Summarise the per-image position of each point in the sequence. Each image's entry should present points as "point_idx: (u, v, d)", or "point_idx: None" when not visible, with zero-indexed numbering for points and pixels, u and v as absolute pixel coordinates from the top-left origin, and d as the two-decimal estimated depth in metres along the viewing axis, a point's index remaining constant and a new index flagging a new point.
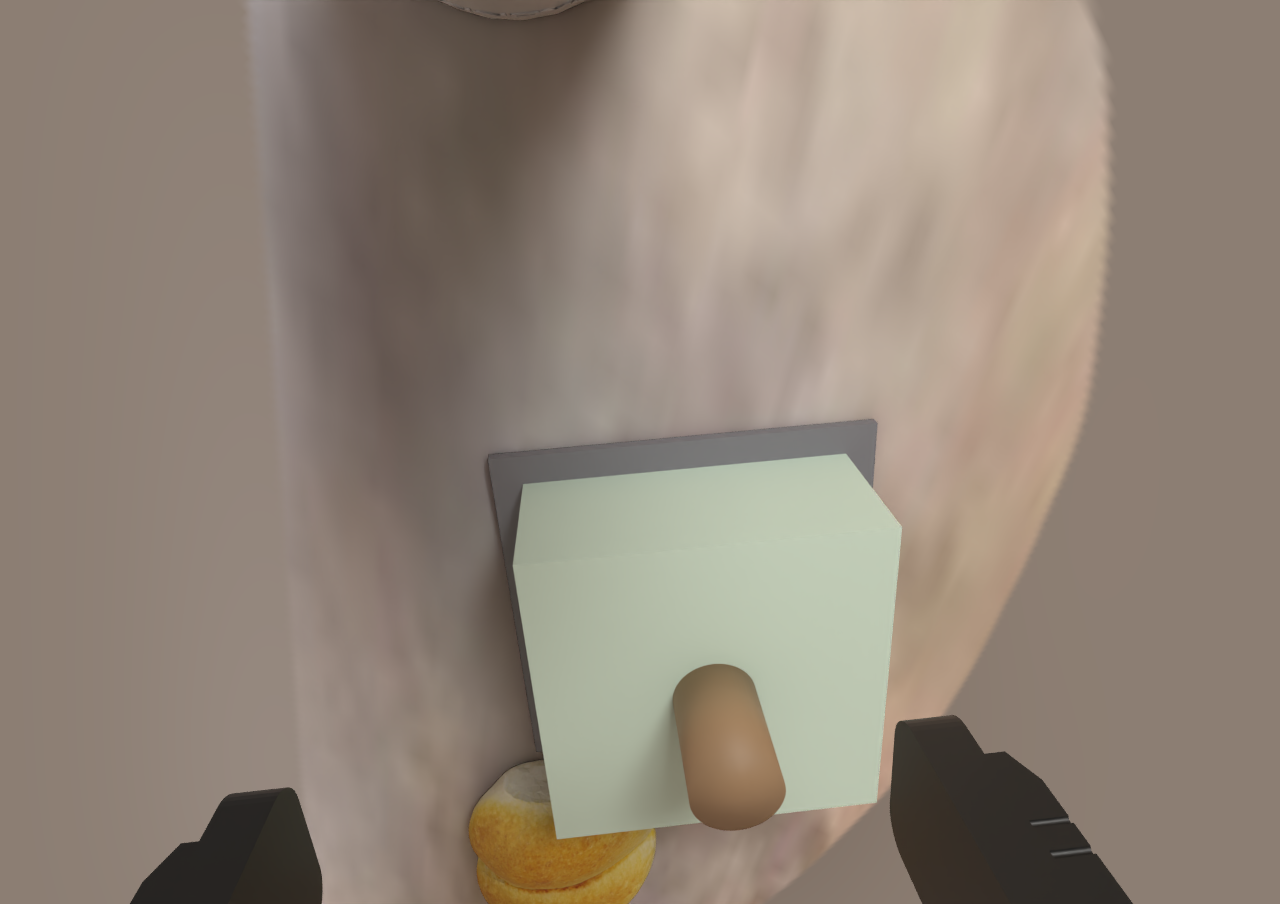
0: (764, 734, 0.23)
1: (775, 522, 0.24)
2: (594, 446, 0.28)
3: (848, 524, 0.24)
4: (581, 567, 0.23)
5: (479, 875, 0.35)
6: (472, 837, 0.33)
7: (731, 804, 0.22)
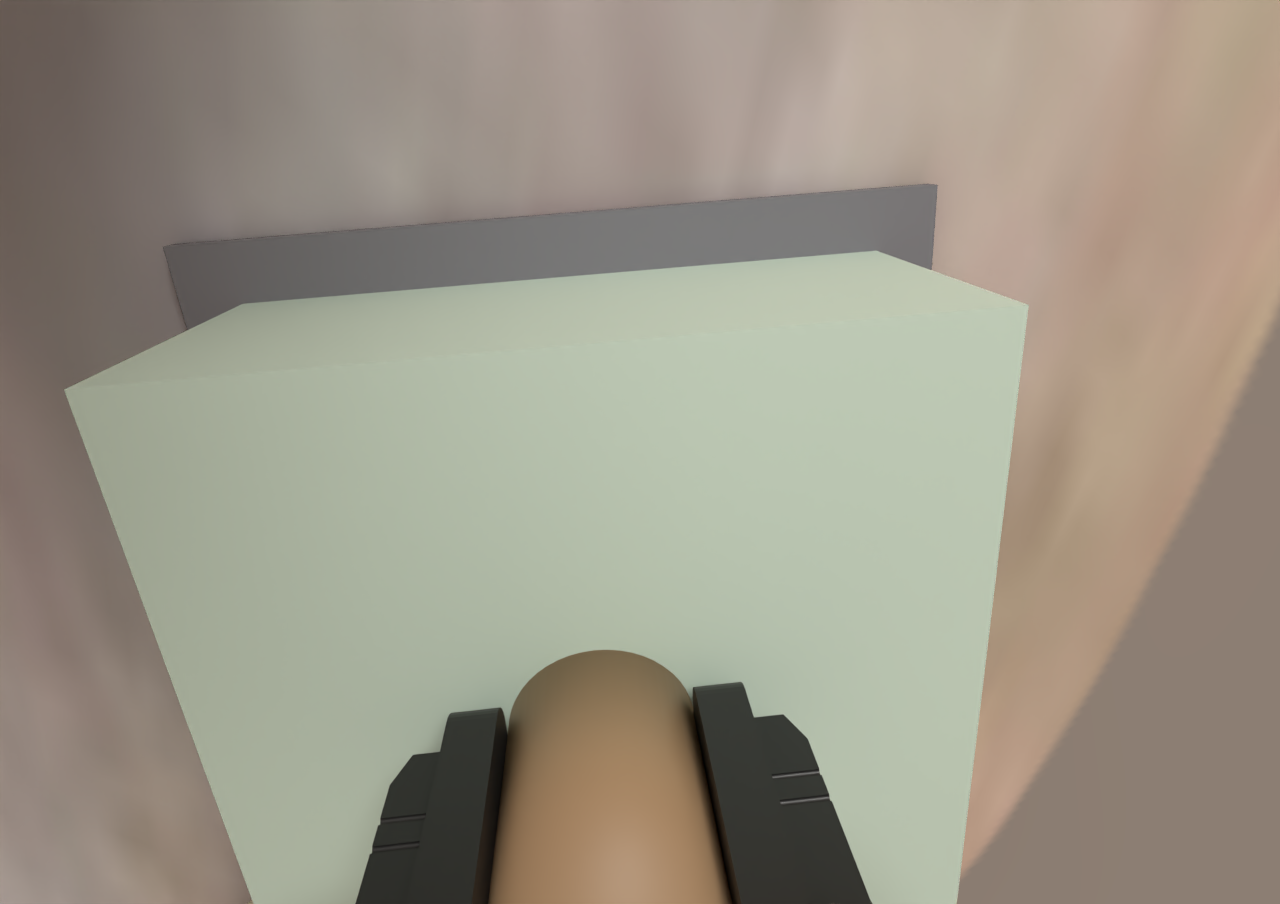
0: (694, 821, 0.09)
1: (726, 313, 0.10)
2: None
3: (898, 308, 0.10)
4: (242, 397, 0.09)
5: None
6: None
7: None
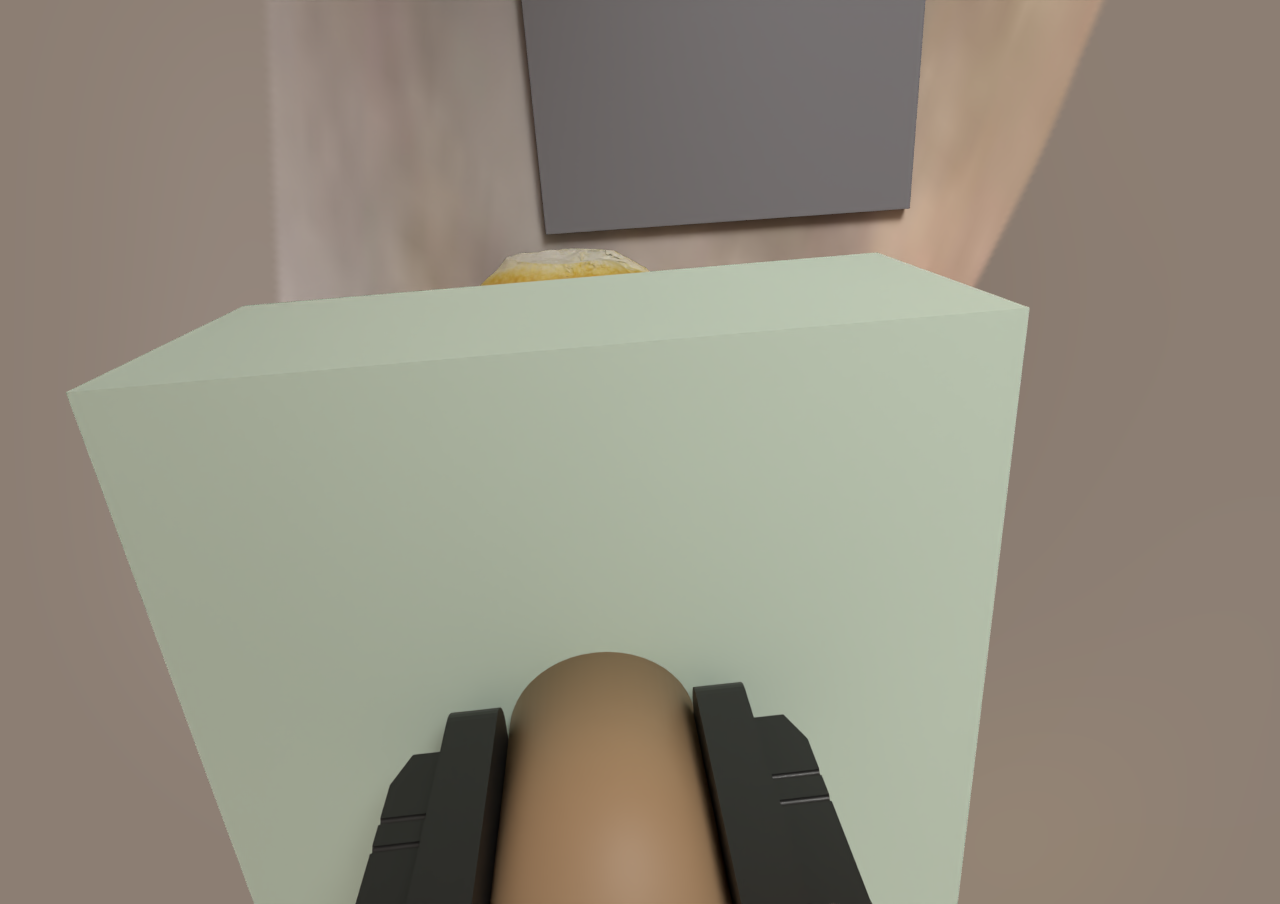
0: (696, 823, 0.09)
1: (727, 316, 0.10)
2: None
3: (898, 310, 0.10)
4: (244, 400, 0.09)
5: None
6: None
7: None
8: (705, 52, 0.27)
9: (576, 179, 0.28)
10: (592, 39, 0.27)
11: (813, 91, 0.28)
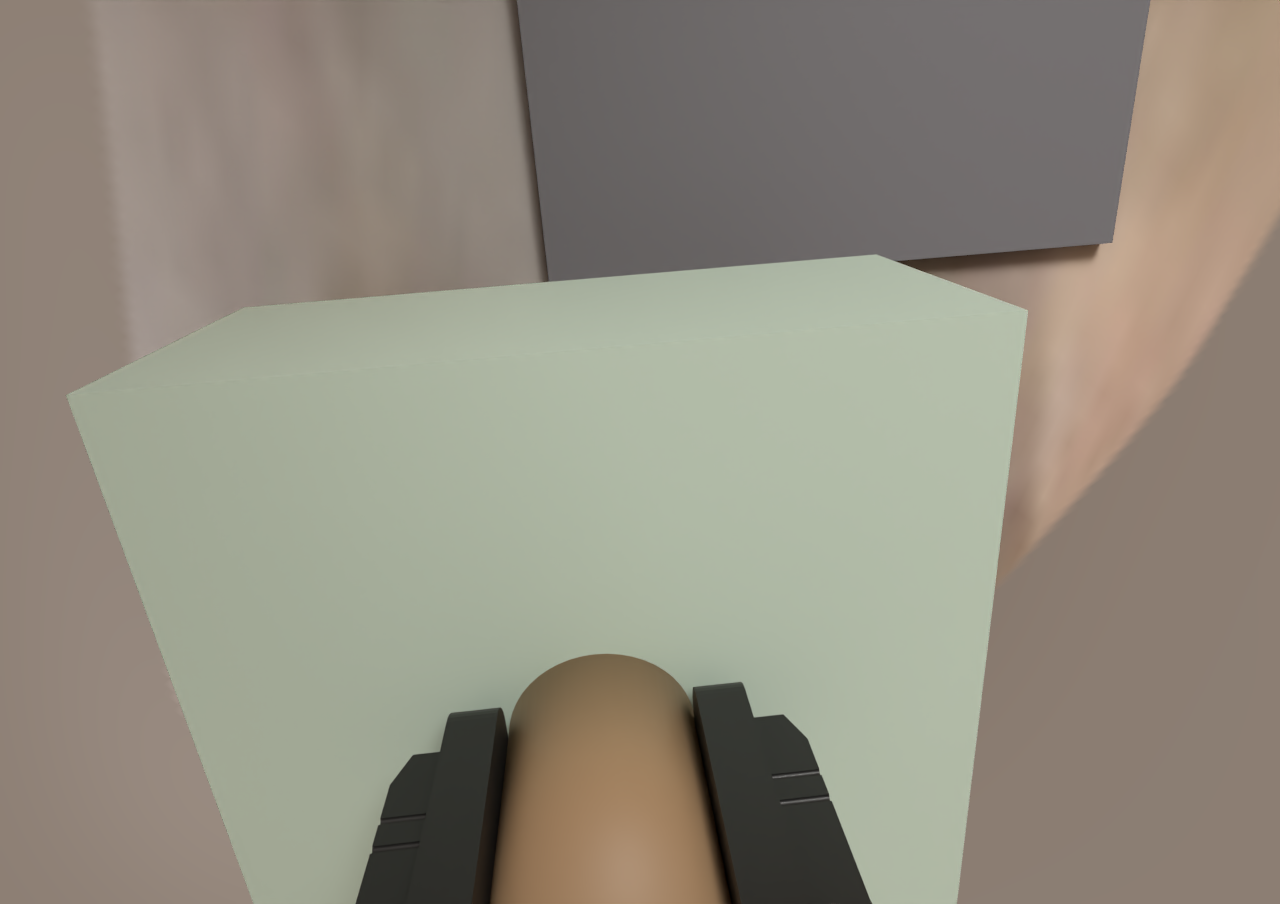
0: (695, 825, 0.09)
1: (726, 318, 0.10)
2: None
3: (897, 313, 0.10)
4: (244, 403, 0.09)
5: None
6: None
7: None
8: None
9: (596, 204, 0.18)
10: None
11: (976, 60, 0.17)
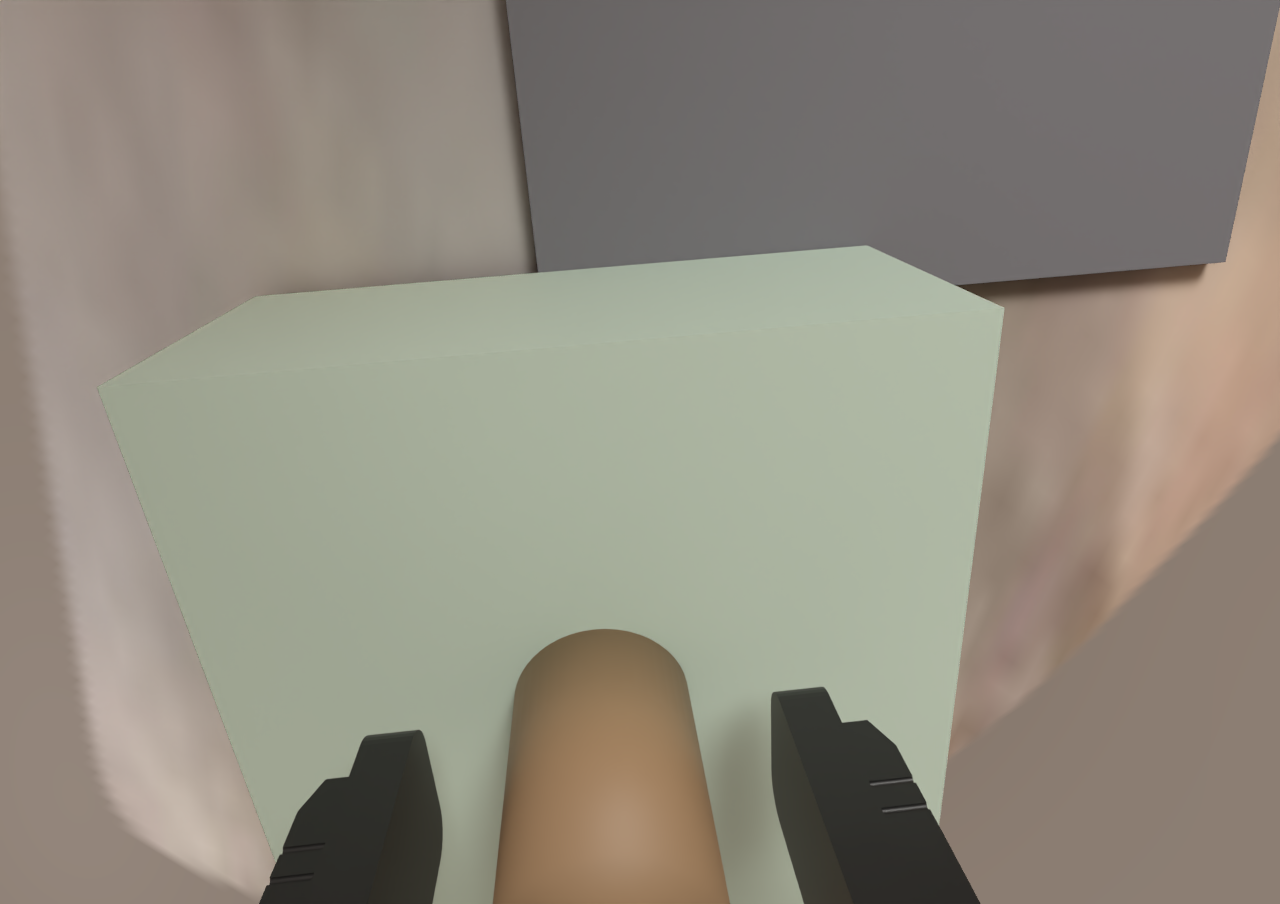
0: (687, 786, 0.10)
1: (719, 313, 0.11)
2: None
3: (881, 309, 0.11)
4: (264, 394, 0.10)
5: None
6: None
7: None
8: None
9: (601, 216, 0.15)
10: None
11: (1071, 38, 0.14)
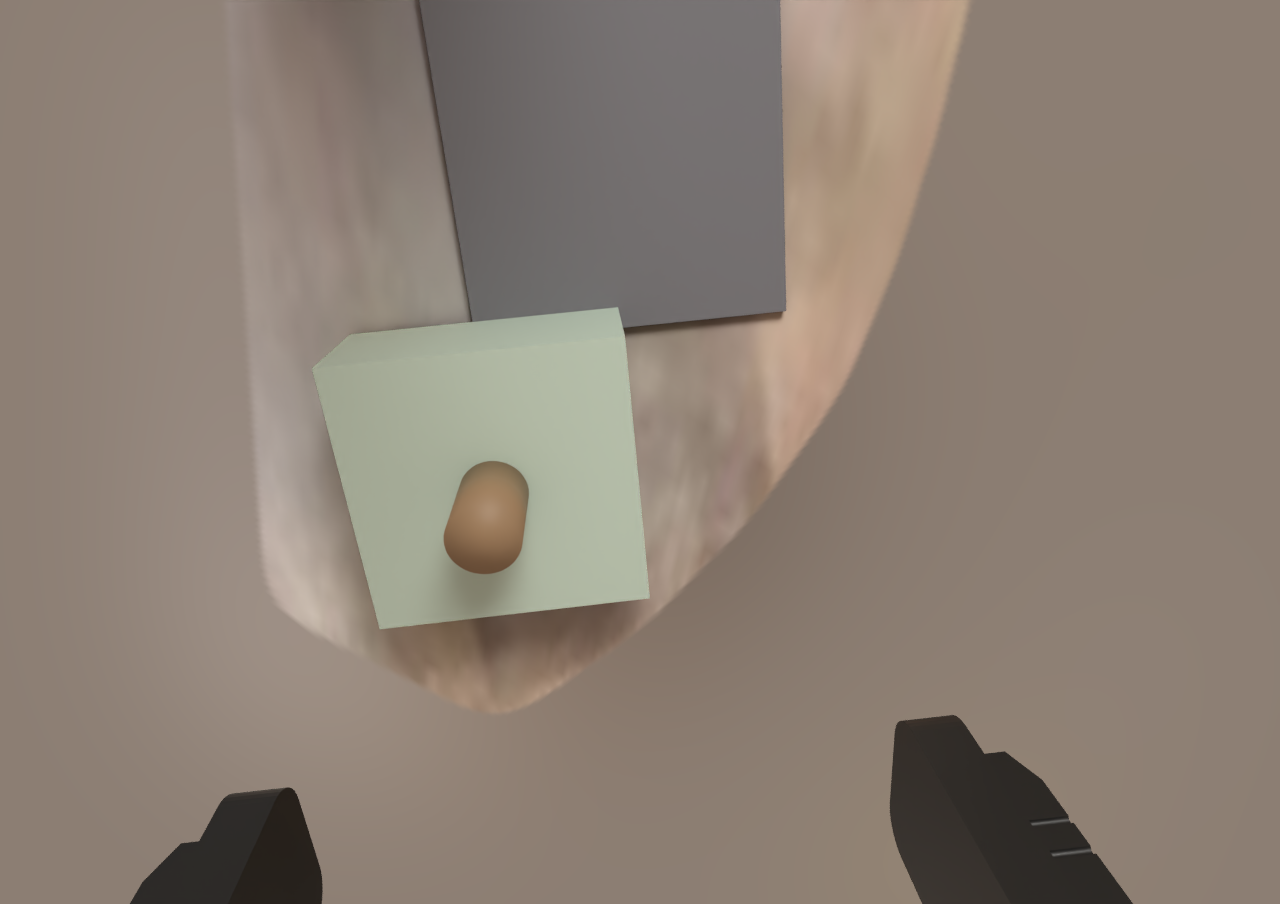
0: (511, 498, 0.29)
1: (530, 339, 0.30)
2: None
3: (585, 337, 0.30)
4: (367, 370, 0.29)
5: None
6: None
7: (479, 548, 0.28)
8: (601, 193, 0.32)
9: (499, 297, 0.34)
10: (506, 186, 0.32)
11: (694, 220, 0.33)
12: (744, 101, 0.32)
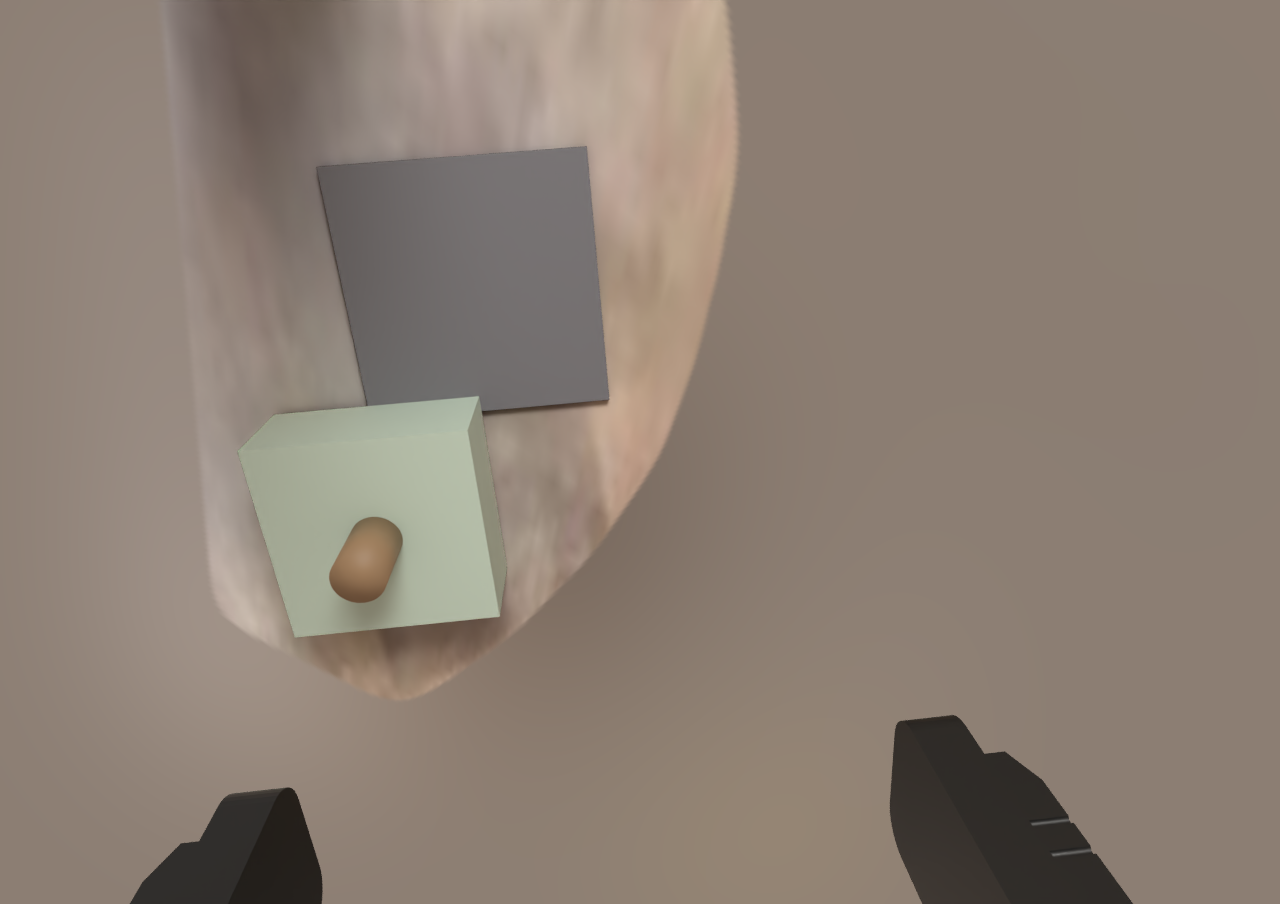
0: (381, 548, 0.39)
1: (400, 429, 0.41)
2: (391, 161, 0.40)
3: (439, 429, 0.40)
4: (278, 452, 0.40)
5: None
6: None
7: (355, 585, 0.39)
8: (462, 314, 0.43)
9: (387, 388, 0.44)
10: (389, 309, 0.43)
11: (534, 333, 0.44)
12: (567, 250, 0.42)
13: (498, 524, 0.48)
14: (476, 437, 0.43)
